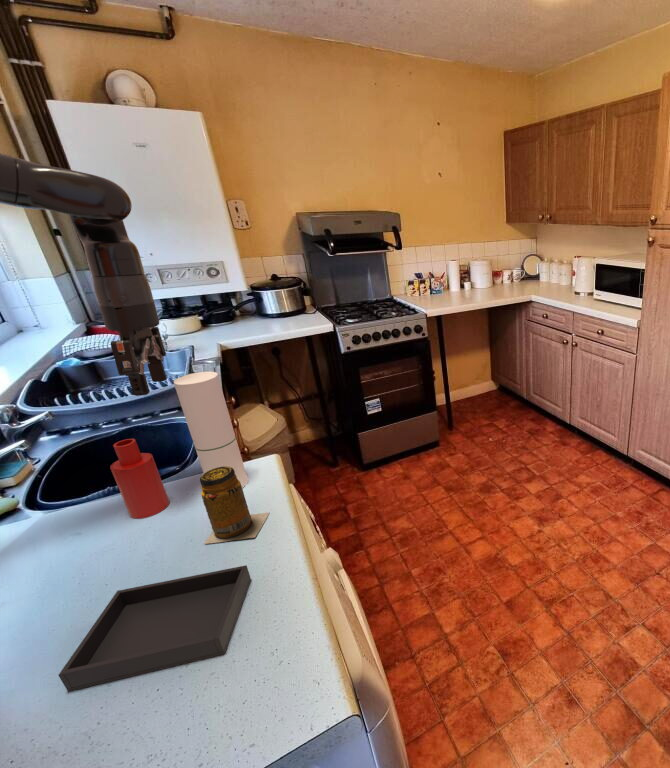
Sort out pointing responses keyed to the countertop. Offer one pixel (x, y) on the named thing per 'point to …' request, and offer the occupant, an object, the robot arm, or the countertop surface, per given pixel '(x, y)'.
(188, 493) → the countertop surface
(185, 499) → the countertop surface
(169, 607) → the baking tray
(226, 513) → the condiment
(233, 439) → the cylindrical container
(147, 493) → the bottle
